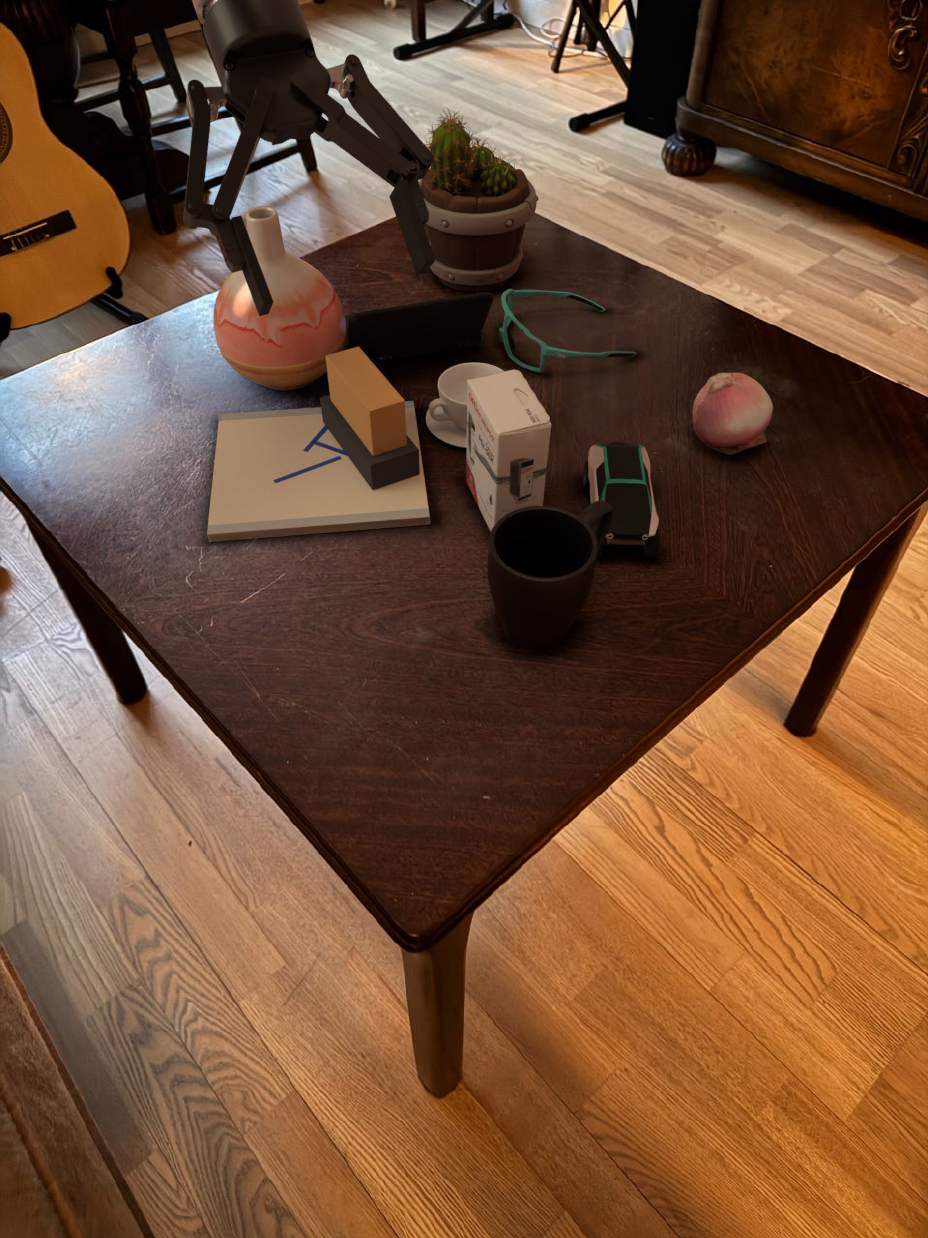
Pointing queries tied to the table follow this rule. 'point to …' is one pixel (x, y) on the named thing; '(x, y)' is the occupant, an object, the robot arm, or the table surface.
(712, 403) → the onion
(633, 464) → the toy car
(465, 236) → the flowerpot
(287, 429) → the board
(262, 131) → the robot arm
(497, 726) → the table surface
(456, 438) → the teacup
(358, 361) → the eraser
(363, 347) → the game console
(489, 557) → the mug
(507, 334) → the sunglasses
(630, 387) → the table surface
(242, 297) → the vase
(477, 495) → the ink box
